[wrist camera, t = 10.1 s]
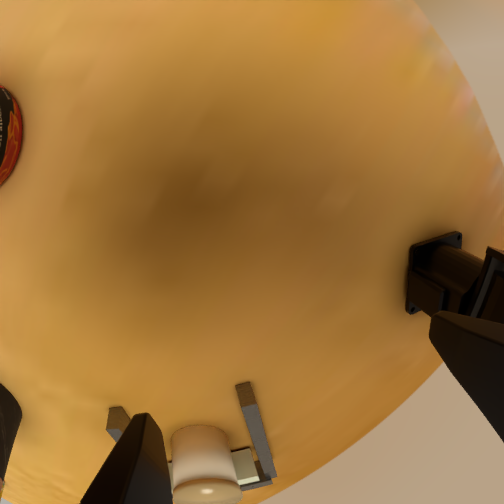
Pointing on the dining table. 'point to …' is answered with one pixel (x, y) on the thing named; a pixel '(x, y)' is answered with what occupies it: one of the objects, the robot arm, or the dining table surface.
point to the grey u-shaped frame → (252, 416)
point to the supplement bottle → (2, 489)
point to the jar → (203, 467)
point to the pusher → (236, 467)
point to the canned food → (9, 133)
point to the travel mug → (7, 428)
